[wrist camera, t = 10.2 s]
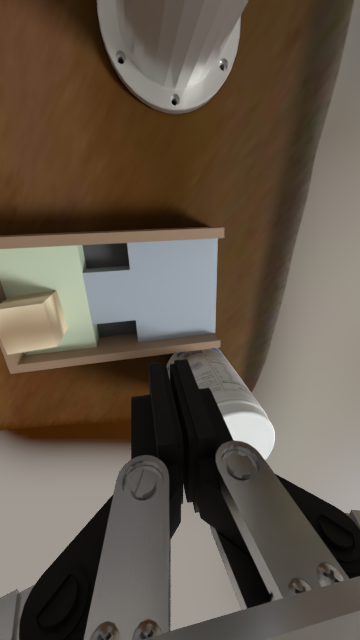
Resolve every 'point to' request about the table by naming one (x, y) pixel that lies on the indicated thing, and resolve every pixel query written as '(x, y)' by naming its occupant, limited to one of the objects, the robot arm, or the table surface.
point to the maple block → (31, 322)
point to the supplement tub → (230, 398)
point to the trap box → (117, 292)
